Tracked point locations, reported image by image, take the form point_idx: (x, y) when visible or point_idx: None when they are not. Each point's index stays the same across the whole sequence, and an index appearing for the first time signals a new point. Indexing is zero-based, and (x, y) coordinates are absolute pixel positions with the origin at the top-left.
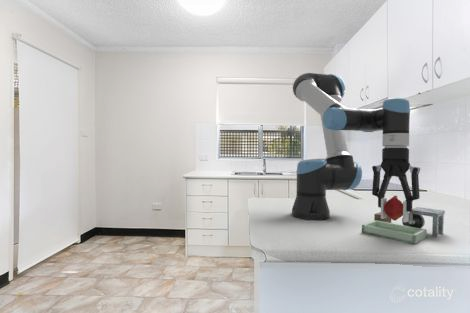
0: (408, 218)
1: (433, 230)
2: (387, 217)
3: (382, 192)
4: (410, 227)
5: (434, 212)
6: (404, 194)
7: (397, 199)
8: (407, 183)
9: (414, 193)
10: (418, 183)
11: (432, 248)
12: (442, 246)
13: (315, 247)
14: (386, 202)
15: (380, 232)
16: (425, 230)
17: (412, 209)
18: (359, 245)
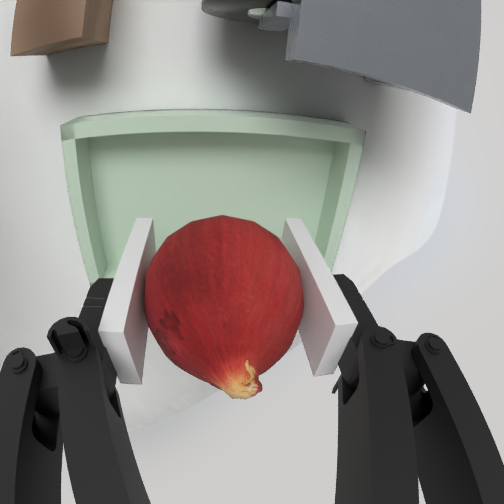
0: (305, 231)
1: (386, 84)
2: (91, 9)
3: (124, 434)
4: (286, 134)
5: (457, 75)
6: (339, 423)
7: (261, 369)
8: (407, 498)
9: (413, 417)
10: (492, 455)
11: (364, 266)
12: (393, 219)
13: (145, 418)
14: (169, 357)
15: None
16: (361, 151)
17: (315, 29)
18: (190, 376)
